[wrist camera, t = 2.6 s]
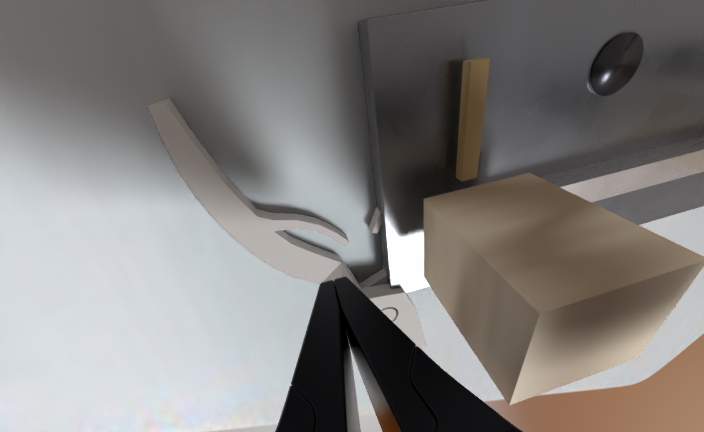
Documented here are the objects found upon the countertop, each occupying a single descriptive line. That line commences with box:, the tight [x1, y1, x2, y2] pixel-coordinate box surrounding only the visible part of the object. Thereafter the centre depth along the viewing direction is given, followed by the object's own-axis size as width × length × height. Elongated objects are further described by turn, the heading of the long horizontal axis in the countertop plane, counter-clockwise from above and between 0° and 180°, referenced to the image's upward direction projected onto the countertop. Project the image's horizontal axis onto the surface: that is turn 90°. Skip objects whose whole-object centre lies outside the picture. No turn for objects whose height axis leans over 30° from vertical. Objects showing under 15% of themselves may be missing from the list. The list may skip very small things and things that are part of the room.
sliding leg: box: [424, 58, 704, 405], centre depth 8 cm, size 4×7×6 cm, turn 8°
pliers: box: [147, 98, 427, 349], centre depth 12 cm, size 10×2×15 cm
